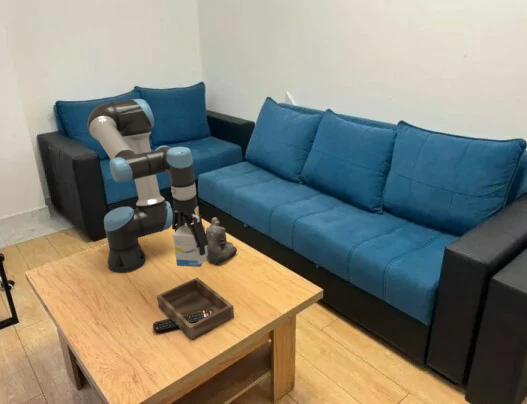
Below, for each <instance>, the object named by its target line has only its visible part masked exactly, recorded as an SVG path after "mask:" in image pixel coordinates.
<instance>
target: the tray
mask: <svg viewBox="0 0 527 404" xmlns="http://www.w3.org/2000/svg"><path fill="white" fill-rule="evenodd" d="M156 298H157V306H158V309H160V310H161V311H162V313H164V315H166V317H167V318H168V319H169V320H171V319H173V320H175V321H176V322H177V324H178V325H179V327H178V329H180V331H182V332H183V334H184V335H185V336H187V338H188V339H189V340H190V341H192V342H193V341H194V340H196V339H198V338H200V337H202V336H203V335H206V334H208V333H209V332H211V331H213V330H215V329H216V328H218V327H220V326H221V325H224V324H225V323H228V322H229V321H231V320H233V319H235V313H234V312H235V311H234V305H233V304H232V303H231V302H229V301H228V300H226V298H224V297H223V296H222V295H220V293H218V292H216V291H215V290H214V289H213V288H211V286H209V285H208V284H206V283H205V282H204V281H202V279H200V278H199V277H195V278H193V279H191V280H189V281H186V282H185V283H182V284H179V285H178V286H175V287H173V288H170V289H169V290H166V291H164V292H162V293H160V294H158V295H156ZM207 309H213V310H214V312H215V313H213V314H211V315H209V316H207V317H205V318H203V319H201V320H199V321H198V322H196V323H189V322H188V321H187V320H186V319H185V318H184V317H183V315H187V314H191V313H195V312H198V311H203V310H207Z"/></svg>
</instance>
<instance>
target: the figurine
mask: <svg viewBox="0 0 527 404" xmlns="http://www.w3.org/2000/svg"><path fill="white" fill-rule="evenodd" d="M205 233H206V237H207V240H208V243H209V244H208V245H207V253H208V255H207V257H206V262H207V263H208V264H209V263H210V264H212V265H221V264H223V263H225V262H226V261H228V260H229V259H231V258H232V257H234V256H236V255H237V252H238V249H237V247H236V246H235V245H234V244H233V242H231V241H228V240H227V233H226V228H225V227H223V226H220V221H219V219H218V218H217V217H216V216H215V217H213V218H211V222H210V225H209V226H207V227H206V228H205Z"/></svg>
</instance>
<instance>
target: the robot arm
mask: <svg viewBox="0 0 527 404" xmlns="http://www.w3.org/2000/svg"><path fill="white" fill-rule="evenodd" d="M86 125H87V130H88V132H89V134H90V135H91V136H92V138H93V139H95V140H97V141H98V142H99V143H100V145H101V147H102V148H103V150H104V151H105V153H106V154H107V155H108V157H109V159H110V160H109V168H110V174H111V176H112V179H113V180H114V181H115V182H116V183H123V182H130V181H132V180H133V181H134V183H135V187H136V193H137V197H138V200H137V201H136V203H135V206H136V208H135V209H133V207H131V206H120V207H117V208H113V209H112V210H110V211H108V213H107V214H105V216H104V219H103V225H104V230H105V235H106V238H107V239H106V240H107V244H108V249H109V250H108V251H109V252H108V257H107V265H108V266H107V267H108V269H109V270H110V271H111V272H114V273H119V274H121V273H130V272H133V271H137V270H138V269H140V268H142V267H143V266H144V265H145V264H146V263H147V256H146V253H145V251H144V249H143V248H142V246H141V245H140V242H139V238H142V237H146V236H149V235H153V234H156V233H161V232H163V231H166V230H169V229H170V228H171V229H172V230H174V233H175V232H176V230H177V229H178V228H179V227H180V226H183V225H185V224H187V227H188V228H190V230H191V232H192V234H193V236H194V239H195V241H196V244H197V246H196V252H197V260H198V264H201V263H206V262H207V260H206V256H205V246H206V245H208V244H209V243H208V240H207V237H206V229H205V230H204V227H203V225H204V224H203V220H202V216H201V215H200V214H199V215H197V214H196V211H195V209H197V208H198V197H197V187H196V182H195V172H194V162H193V161H194V159H193V155H192V151H191V149H190V148H189V147H187V146H174V147H171V146H168V145H161V146H159V147H157V148H155V150H152V149H151V145H150V141H149V139H150V138H149V137H150V135H151V134H152V131H151V129H153V128H154V126H155V119H154V114H153V111H152V109H151V106H150V105H149V103H148V102H147V101H146V100H144V99H142V98H135V99H134V98H131V99H126V100H119V101H113V102H105V103H102V104H100V105H98V106H96V107H95V108H94V109H92V111H91V112H90V114H89V115H88V119H87V124H86ZM165 173H167V174H168V176H169V181H170V188H171V190H170V192H171V194H172V204H173V206H171V204H170V202H169V201H167V200H166V199H165V197H163V196H162V195H161V192H160V189H159V187H160V186H159V183H158V182H159V181H158V178H157V175H160V174H165ZM190 224H191V225H190Z"/></svg>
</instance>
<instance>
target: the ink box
mask: <svg viewBox="0 0 527 404" xmlns="http://www.w3.org/2000/svg"><path fill="white" fill-rule="evenodd" d="M190 225H191V224H190ZM205 226H206V225H204V224H203V227H204V230H205V231H206V228H205ZM172 240H173V245H174V252H175V253H174V255H175V262H176V266H177V267H192V268H193V267H194V268H201V267H202V265H203V263H204V262H203V263H201V264H198V260H197V252H196V246H197V244H196V241H195V239H194V236H193V234H192V232H191V230H190V228H188V227H187V224H186V223H185V225H183V226H180V227H179V228H178V229H177V230H176V232H175V231H174V233H173V234H172ZM207 255H208V253H207V245H206V246H205V256H206V257H207Z"/></svg>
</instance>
